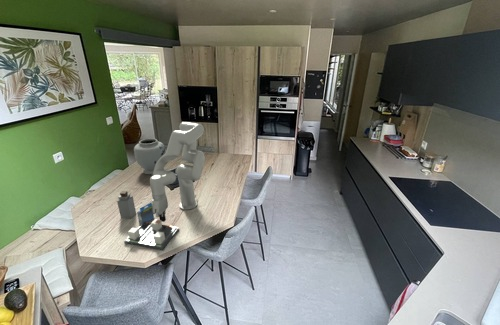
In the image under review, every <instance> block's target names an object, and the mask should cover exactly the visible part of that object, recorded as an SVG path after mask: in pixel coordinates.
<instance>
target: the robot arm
mask: <svg viewBox="0 0 500 325" xmlns="http://www.w3.org/2000/svg"><path fill="white" fill-rule="evenodd" d="M178 128H179V130H173V131H171V134H170V137H169V141H168V145H167V147H166V149H165V154H164V155H163V156H162V157H161V158H160V159H159V160H158V161H157V163H156V165H155V168H154V172H153V174H152V175H151V176H150V178H149V185H150V191H151V195H152V200H151V202H152V210H153V214H154V215H155V218H158V220H161V222H163V223H165V221H166V220H167V218H166V211H167V209H168V208H169V203H168V198H167V195H166V188H165V186H168V185H171V184H173V183H174V182H176V181H178V186H179V193H180V194H179V196H180V202H179V205H178V207H179V208H180V209H181V210H184V211H188V210H189V211H190V210H194V208H196V207H197V206H198V202H197V200H196V198H197V194H195V186H194V182H197V181H199V180H200V179H201V177H202V174H203V171H204V170H203V169H204V166H205V164H204V163H205V160H206V159H205V158H206V157H205V153H204V152H203V151H202V150H199V149H197V146H198V141H197V140H199V138H201V137H202V135H203V134H204V132H205V128H204V126H203V125H202V124H201V123H197V122H191V121H182V122H180V123H179V126H178ZM180 155H181V160H182V162H184V163H181V164H179V165H178V166H176V169H175V172H173V171H169V170H165V167H166V164H168V163H169V162H171V161H172V160H175V159H178V158H179V157H180ZM185 163H188V164H185ZM191 164H193V165H191Z"/></svg>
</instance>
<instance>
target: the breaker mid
mask: <svg viewBox="0 0 500 325" xmlns="http://www.w3.org/2000/svg"><path fill="white" fill-rule="evenodd" d="M150 223H151V224H152V230H155V231H158V230H159V229H160V228H161V227H162V225H163V224H162V221H161V220H160V219H156V218H154V220H152V222H150Z"/></svg>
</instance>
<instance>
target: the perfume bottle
mask: <svg viewBox="0 0 500 325" xmlns="http://www.w3.org/2000/svg"><path fill="white" fill-rule="evenodd" d="M116 203H117V207H118V211H119V216H120V219H123V220H132V219H133V218H134V217H135V215H136V214H137V211H136V210H137V209H136V206H135V201H134V196H133V195H131V193H128V190H122V191H121V192H119V195H118V197H117V200H116Z"/></svg>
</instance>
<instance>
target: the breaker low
mask: <svg viewBox="0 0 500 325" xmlns="http://www.w3.org/2000/svg"><path fill="white" fill-rule="evenodd" d="M127 234H128V237H129V239H133V240H135V239H136V238H137V237H138V236H139V235H140V232H139V228H138V227H131V228H130V229H129V230H128V232H127Z"/></svg>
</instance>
